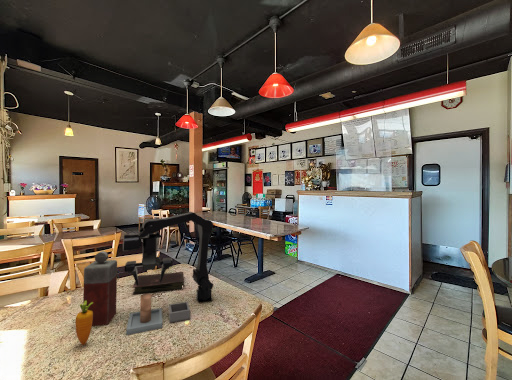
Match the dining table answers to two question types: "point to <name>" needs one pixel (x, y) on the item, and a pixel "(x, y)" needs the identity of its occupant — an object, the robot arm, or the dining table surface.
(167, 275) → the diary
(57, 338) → the dining table surface
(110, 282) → the dark red canister
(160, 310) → the slate tray
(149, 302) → the dowel pin
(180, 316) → the grey square bin
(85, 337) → the carrot
